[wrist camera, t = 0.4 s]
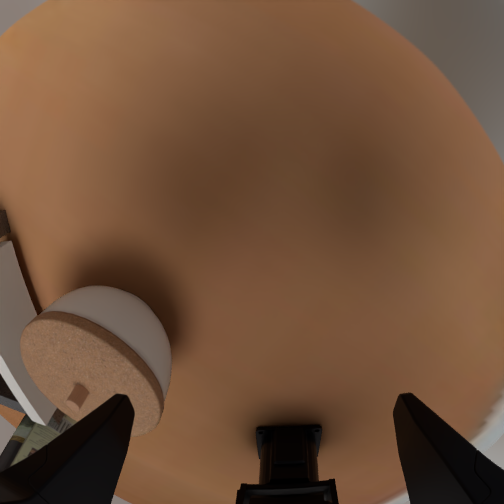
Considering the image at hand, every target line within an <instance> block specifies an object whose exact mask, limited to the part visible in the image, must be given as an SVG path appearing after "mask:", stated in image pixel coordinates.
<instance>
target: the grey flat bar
mask: <svg viewBox="0 0 504 504" xmlns="http://www.w3.org/2000/svg"><path fill="white" fill-rule="evenodd" d="M36 316H37V313H36V311H35V308H34V306H33V303H32V301H31V298H30V296H29V293H28V290H27V287H26V285H25V282H24V279H23V276H22V273H21V270H20V267H19V264H18V261H17V258H16V254H15V251H14V248H13V244H12V241H4V242H0V374H1V375H2V377H3V378H4V380H5V382H6V383H7V385H8V386H9V388H10V390H11V391H12V393H13V394H14V396H15V397H16V399H17V400H18V402H19V403H20V405H21V406H22V407H23V409H24V410H25V412H26V413H27V414H28V416H29V417H30V419H31V420H32V421H34V422H36V423H39V424H42V425H45V426H46V425H47V424H48V422H49V420H50V419H51V417H52V415H53V414H54V412H55V410H56V409H57V407H56V406H55V405H54V404H52V403H51V402H50V401H49V400H48V399H47V398H46V397H45V395H44V394H43V393H42V392H41V391H40V390H39V389H38V387H37V386H36V385H35V383H34V382H33V380H32V379H31V377H30V375H29V374H28V372H27V370H26V368H25V365H24V363H23V360H22V357H21V351H20V338H21V334H22V331H23V330H24V328H25V326H26V325H27V324H28V323H29V322H30V321H31V320H33V319H34V318H35V317H36Z"/></svg>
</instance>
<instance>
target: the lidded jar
mask: <svg viewBox="0 0 504 504" xmlns="http://www.w3.org/2000/svg"><path fill="white" fill-rule="evenodd" d="M20 351H21V357H22V360H23V363H24V365H25V368H26V370H27V372H28V374H29V375H30V377H31V379H32V380H33V382H34V383H35V385H36V386H37V387H38V389H39V390H40V391H41V392H42V393H43V394H44V395H45V397H46V398H47V399H48V400H49V401H50V402H51V403H52V404H54V405H55V406H56V407H57V408H58V409H60V410H61V411H62V412H63V413H65V414H66V415H68V416H69V417H71V418H72V419H74V420H76V421H77V422H78V421H79V420H81V419H82V418H84V417H85V416H86V415H88V414H89V413H90V412H92V411H93V410H94V409H96V408H97V407H99V406H100V405H101V404H103V403H104V402H105V401H107V400H108V399H109V398H111V397H112V396H113V395H115V394H117V393H119V394H126V395H127V396H128V397H129V399H130V401H131V403H132V405H133V408H134V410H135V418H134V422H133V427H132V432H131V437H135V436H140V435H144V434H146V433H148V432H150V431H152V430H153V429H154V428H155V427H156V426H157V425H158V423H159V421H160V418H161V415H162V412H163V409H164V401H165V398H166V395H167V392H168V388H169V385H170V379H171V370H172V355H171V348H170V343H169V340H168V336H167V334H166V332H165V330H164V328H163V325H162V324H161V322H160V321H159V319H158V318H157V316H156V315H155V314H154V313H153V311H152V310H151V308H150V307H149V306H148V305H147V304H146V303H145V302H144V301H143V300H141V299H140V298H139V297H137V296H135V295H133V294H131V293H129V292H126V291H123V290H121V289H117V288H114V287H109V286H99V285H98V286H87V287H83V288H78V289H75V290H73V291H71V292H69V293H67V294H65V295H63V296H61V297H60V298H58V299H57V300H55V301H54V302H53V303H52V304H50V305H49V306H48V307H47V308H46V309H45V310H44V311H43V312H42V313H41V314H40V315H37V316H36V317H35V318H34V319H33V320H31V321H30V322H29V323H28V324H27V325H26V326H25V328H24V330H23V331H22V334H21V338H20Z"/></svg>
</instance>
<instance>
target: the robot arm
mask: <svg viewBox="0 0 504 504" xmlns="http://www.w3.org/2000/svg"><path fill="white" fill-rule="evenodd" d="M134 418H135V410H134V408H133V405H132V403H131V401H130V399H129V397H128V396H127V395H126V394H119V393H117V394H115V395H113V396H112V397H111V398H109V399H108V400H107V401H105V402H104V403H103V404H101V405H100V406H99V407H97V408H96V409H94V410H93V411H92V412H90V413H89V414H88V415H86V416H85V417H84V418H82V419H81V420H79V421H78V422H77V423H75V424H74V425H73V426H71V427H70V428H68V429H67V430H66V431H64V432H63V433H62V434H60V435H59V436H57V437H56V438H55V439H53V440H52V441H50V442H49V443H48V445H47V444H46V445H45V446H43V447H42V448H40V449H39V450H37V451H36V452H34V453H33V454H31V455H30V456H28V457H26V458H25V459H23V460H21V461H20V462H18V463H16V464H14V465H12V466H10V467H8V468H7V469H5V470H3V471H1V472H0V504H111V501H112V498H113V495H114V492H115V488H116V485H117V482H118V479H119V476H120V473H121V470H122V466H123V463H124V460H125V457H126V454H127V451H128V446H129V441H130V437H131V432H132V427H133V422H134ZM393 418H394V425H395V432H396V439H397V446H398V453H399V457H400V462H401V466H402V470H403V474H404V478H405V482H406V486H407V490H408V495H409V499H410V504H504V470H503V469H501V468H500V467H499V466H497V465H496V464H495V463H493V462H492V461H491V460H490V459H488V458H487V457H486V456H484V455H483V454H482V453H481V452H480V451H479V450H477V449H476V448H475V447H474V446H473V445H472V444H470V443H469V442H468V441H467V440H466V439H465V438H463V437H462V436H461V435H460V434H459V433H458V432H456V431H455V430H454V429H453V428H452V427H451V426H450V425H448V424H447V423H446V422H445V421H444V420H443V419H441V418H440V417H439V416H438V415H437V414H436V413H434V412H433V411H432V410H431V409H430V408H429V407H427V406H426V405H425V404H424V403H423V402H422V401H420V400H419V399H418V398H417V397H416V396H415V395H414V394H412V393H403V394H400V395H399V396H398V398H397V401H396V404H395V407H394V410H393ZM321 434H322V426H320V425H309V426H288V427H258V428H256V439H257V447H258V455H259V459H260V475H259V484H247V483H241V487H240V490H237V498H236V504H339V503H338V497H337V490H336V484H335V479H329V480H325V481H319V477H318V463H317V457H318V452H319V446H320V440H321Z"/></svg>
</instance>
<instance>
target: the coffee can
mask: <svg viewBox="0 0 504 504" xmlns="http://www.w3.org/2000/svg"><path fill="white" fill-rule="evenodd" d="M75 423H77V421H76V420H74V419H72V418H71V417H69V416H68V415H66V414H65V415H64V416H63V418H62V420H61V421H60V423H59V425H57V424H53V423H50V422H48V424H47V425H46V426H45V425H42V424H39V423H36V422H34V421H32V420H31V419H30V417H29V416H28V415H27V414H26V415H25V416H24V418H23V419H22V421H21V423H20V424H19V426H18V427H17V429H16V431H15V432H14V434H13V436H12V437H11V439H10V440H9V442H8V444H7V445H6V447H5V449H4V450H3V452H2V454H1V455H0V472H1V471H3V470H5V469H7V468H8V467H10V466H12V465H14V464H16V463H18V462H20V461H21V460H23V459H25V458H26V457H28V456H30V455H31V454H33V453H34V452H36V451H37V450H39V449H40V448H42V447H43V446H45V445H46V444H47V445H48V443H49V442H50V441H52V440H53V439H55V438H56V437H57V436H59V435H60V434H62V433H63V432H64V431H66V430H67V429H68V428H70V427H71V426H73V425H74V424H75Z"/></svg>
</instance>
